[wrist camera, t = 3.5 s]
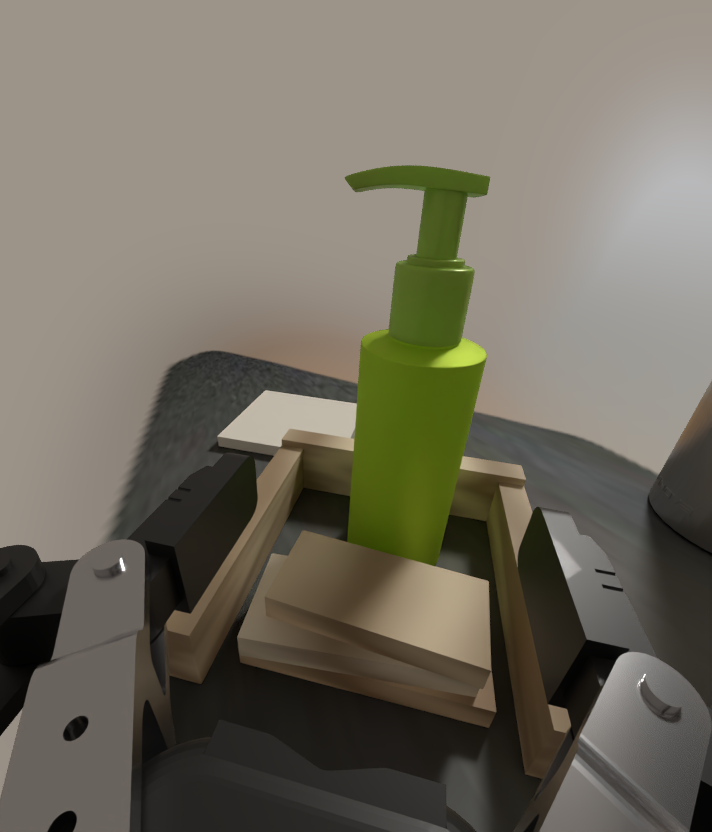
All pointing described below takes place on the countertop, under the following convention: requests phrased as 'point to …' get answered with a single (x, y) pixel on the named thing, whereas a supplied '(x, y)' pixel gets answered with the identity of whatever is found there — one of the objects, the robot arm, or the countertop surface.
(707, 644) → the countertop surface
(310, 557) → the offcut stack
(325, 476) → the pine rack
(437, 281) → the soap dispenser
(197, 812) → the robot arm
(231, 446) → the cream tile
